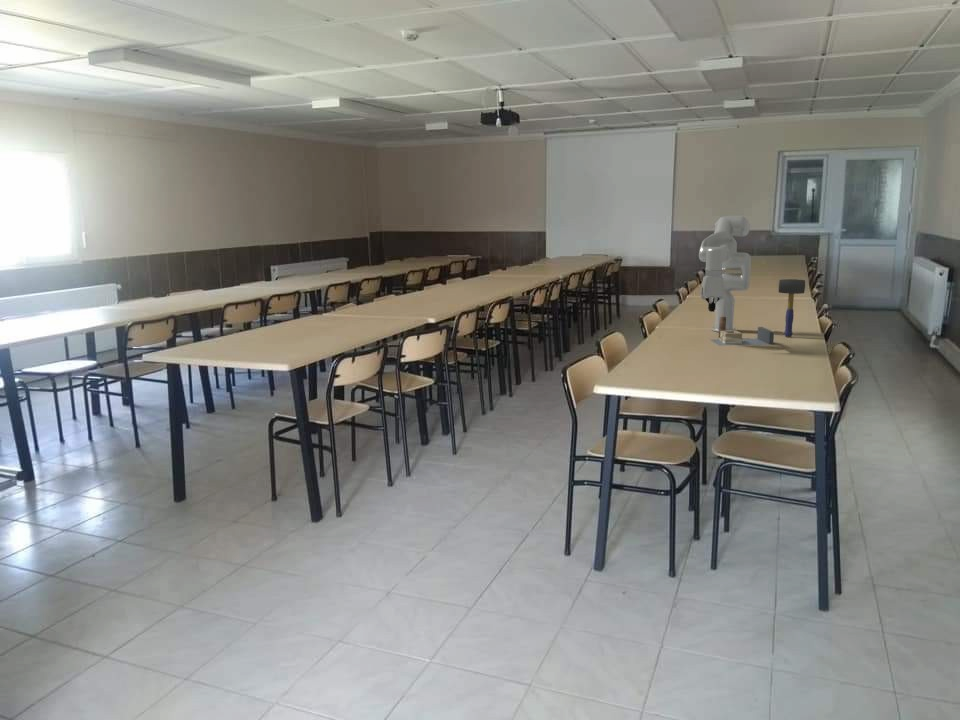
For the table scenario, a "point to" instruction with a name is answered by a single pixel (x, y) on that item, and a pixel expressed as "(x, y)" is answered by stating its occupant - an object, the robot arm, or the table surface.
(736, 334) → the socket block
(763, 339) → the jig board
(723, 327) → the dowel
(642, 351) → the table surface
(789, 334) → the rubber mallet
